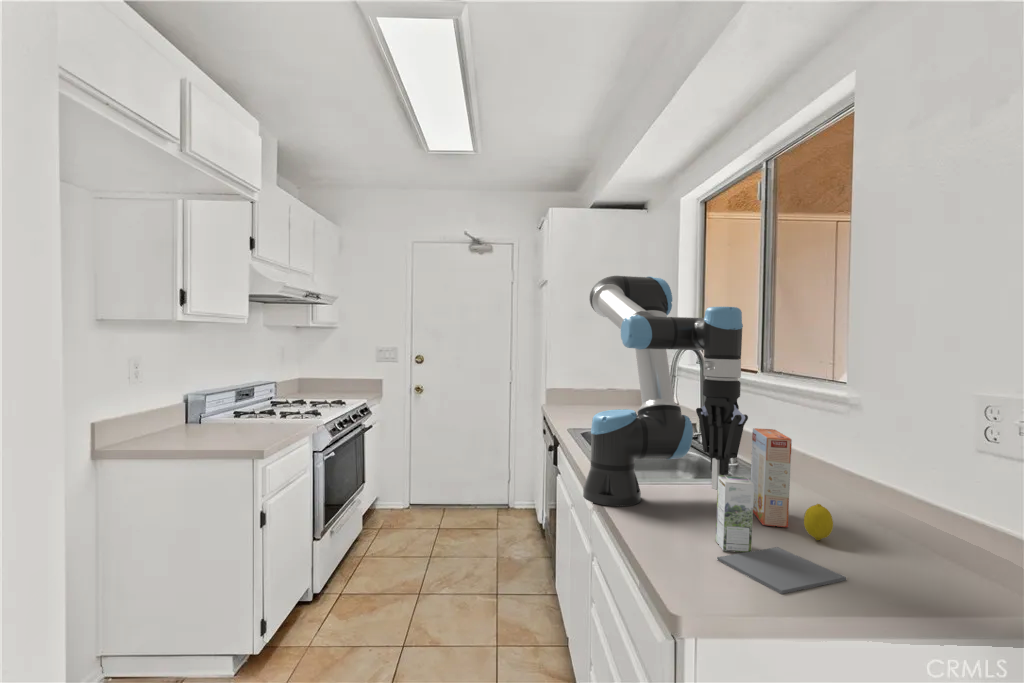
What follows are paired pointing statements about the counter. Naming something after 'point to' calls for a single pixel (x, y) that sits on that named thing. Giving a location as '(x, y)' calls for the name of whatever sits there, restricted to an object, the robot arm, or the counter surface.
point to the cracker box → (771, 476)
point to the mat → (781, 569)
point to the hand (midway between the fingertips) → (718, 488)
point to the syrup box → (734, 513)
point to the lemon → (818, 522)
